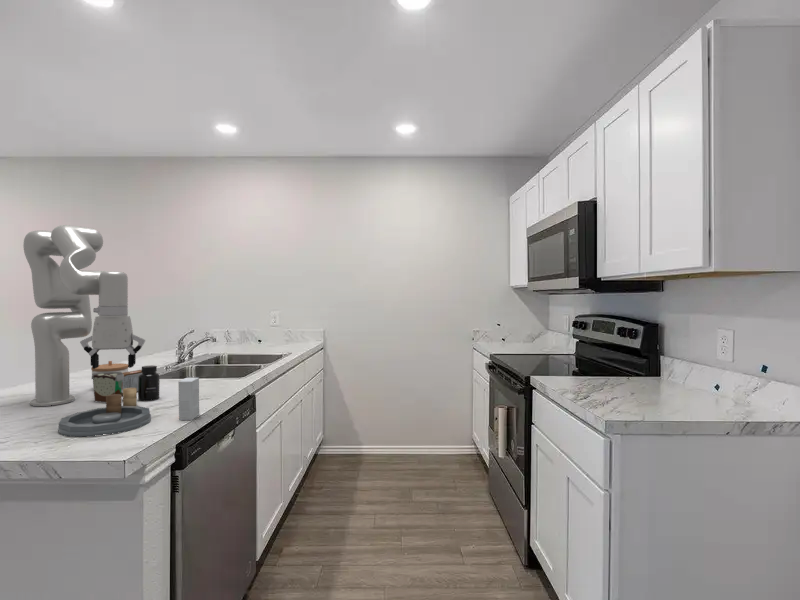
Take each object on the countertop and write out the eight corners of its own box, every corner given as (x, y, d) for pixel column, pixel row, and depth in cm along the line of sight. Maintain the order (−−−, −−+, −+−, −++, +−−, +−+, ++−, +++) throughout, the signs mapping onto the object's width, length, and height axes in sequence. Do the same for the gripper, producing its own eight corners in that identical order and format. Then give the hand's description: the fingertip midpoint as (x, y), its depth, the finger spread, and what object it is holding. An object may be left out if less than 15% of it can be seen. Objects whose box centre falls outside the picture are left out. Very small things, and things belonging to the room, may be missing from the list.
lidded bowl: (106, 392, 175) (106, 364, 174) (83, 390, 179) (83, 362, 179) (135, 386, 186) (135, 359, 186) (114, 384, 191) (113, 358, 191)
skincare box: (185, 415, 144) (185, 377, 144) (199, 414, 144) (199, 377, 144) (178, 420, 138) (177, 381, 138) (192, 420, 138) (192, 381, 138)
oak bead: (120, 406, 154) (120, 389, 154) (132, 404, 157) (132, 387, 157) (127, 408, 152) (127, 390, 152) (139, 405, 155) (139, 388, 155)
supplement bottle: (150, 401, 161) (150, 368, 161) (133, 400, 162) (133, 367, 162) (163, 397, 168) (163, 365, 167) (147, 396, 169) (147, 364, 169)
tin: (147, 388, 182) (147, 367, 182) (153, 389, 181) (153, 368, 181) (111, 396, 168) (111, 374, 168) (117, 397, 167) (117, 374, 167)
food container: (132, 400, 163) (132, 372, 163) (117, 404, 157) (117, 375, 157) (107, 397, 167) (107, 370, 167) (91, 401, 161) (91, 373, 161)
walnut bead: (103, 415, 138) (103, 396, 138) (116, 412, 142) (116, 393, 142) (110, 417, 136) (110, 397, 136) (124, 414, 140) (124, 395, 140)
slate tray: (42, 428, 129) (42, 419, 129) (124, 410, 149) (124, 402, 149) (84, 442, 118) (84, 431, 118) (167, 420, 138) (167, 411, 138)
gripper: (75, 312, 133) (75, 370, 133) (141, 312, 137) (141, 368, 138) (85, 311, 140) (86, 366, 140) (148, 311, 145) (148, 364, 145)
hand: (113, 367), depth 139 cm, fingers open, 9 cm apart
